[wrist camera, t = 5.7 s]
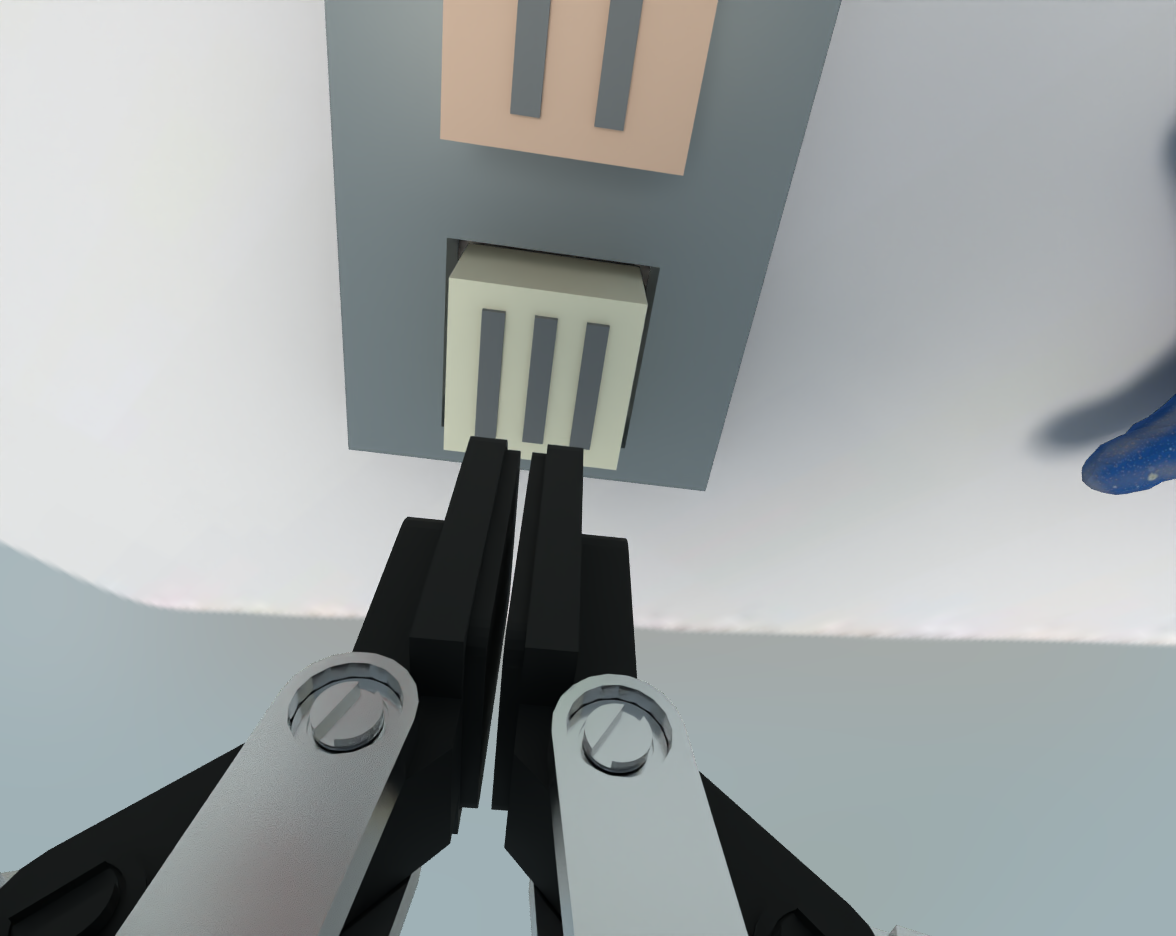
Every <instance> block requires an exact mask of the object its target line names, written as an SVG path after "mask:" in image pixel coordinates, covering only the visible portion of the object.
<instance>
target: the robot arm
mask: <svg viewBox="0 0 1176 936" xmlns="http://www.w3.org/2000/svg"><path fill="white" fill-rule="evenodd" d="M583 454H584V448H580V447H570V446H561V445H552V444H548V446H547V454H546V453H536V452H532V457H531V464H530V471H529V478H528V485H527V491H526V498H525V505H524V512H523V519H522V526H521V532H520V539H519V546H518V553H517V560H516V567H515V573H514V580H513V587H512V594H511V601H510V608H509V614H508V621H507V629H506V636H505V645H504V654H503V665H502V679H501V692H500V704H499V717H498V730H497V744H496V756H495V769H494V783H493V795H492V808H491V809H493V810H507V811H508V817H507V826H506V836H505V846H504V847H505V849H506V850H507V851H508V852H509V854H510V855H511V856H512V857H513V858H514V860H515V861H516V862H517V863H518V865H519V866H520V867H521V868H522V869H523V871H524V872H525V873H526V874H527V876H528V877H529V878H530V882H529V901H530V917H531V932H532V936H929V935H926V934H923V933H919V932H917V931H914V930H910V929H907V928H904V927H901V926H898V925H896V926H895V927H894V928H893V930H892V931H891V932H890V933H888V932H885V931H882V930H879V929H876V928H873V927H870V926H869V925H868V924H867V923H866V922H865V921H864V920H863V919H862V918H861V917H860V916H859V915H858V913H857V912H856V911H855V910H854V909H853V908H852V907H851V906H850V905H849V904H848V903H847V902H846V901H845V900H843V898H841V897H840V896H839V895H838V894H837V893H836V892H835V891H834V890H832V889H831V888H830V887H829V886H828V885H827V884H826V883H825V882H823V881H822V880H821V879H820V878H819V877H818V876H817V875H816V874H814V873H813V872H812V871H811V870H810V869H809V868H808V867H806V866H805V865H804V864H803V863H802V862H801V861H800V860H799V859H797V858H796V857H795V856H794V855H793V854H792V853H791V852H790V851H788V850H787V849H786V848H785V847H784V846H783V845H782V844H781V843H779V842H778V841H777V840H776V839H775V838H774V837H773V836H771V835H770V834H769V833H768V832H767V831H766V830H765V829H764V828H763V827H761V826H760V825H759V824H758V823H757V822H756V821H755V820H754V819H752V818H751V817H750V816H749V815H748V814H747V813H746V812H745V811H743V810H742V809H741V808H740V807H739V806H738V805H737V804H735V803H734V802H733V801H732V800H731V799H730V798H729V797H728V796H727V795H725V794H724V793H723V792H722V791H721V790H720V789H719V788H718V787H716V786H715V785H714V784H713V783H712V782H711V781H710V780H709V779H707V778H706V777H705V776H704V775H703V774H702V773H701V772H699V770H698V767H697V764H696V760H695V757H694V754H693V751H692V747H691V744H690V741H689V737H688V734H687V731H686V727H685V724H684V722H683V720H682V718H681V716H680V714H679V712H678V710H677V708H676V707H675V706H674V704H673V703H672V702H671V701H670V700H669V699H668V698H667V697H666V696H665V695H664V693H662V692H661V691H659V690H658V689H656V688H654V687H653V686H652V685H650V684H648V683H647V682H644V681H641V680H639V679H637V671H636V656H635V640H634V625H633V610H632V595H631V580H630V565H629V550H628V542H627V539H626V538H616V537H606V536H596V535H586V534H582V495H583ZM520 459H521V451H518V450H508V440H505V439H496V438H486V437H477V436H470V439H469V442H468V445H467V448H466V452H465V455H464V458H463V462H462V465H461V468H460V471H459V475H458V478H457V481H456V485H455V488H454V491H453V494H452V498H451V501H450V504H449V507H448V511H447V514H446V517H445V520H435V519H425V518H415V517H407V518H406V519H405V520H404V522H403V524H402V526H401V528H400V531H399V533H398V536H397V538H396V541H395V543H394V546H393V549H392V551H391V554H390V556H389V559H388V561H387V564H386V567H385V569H384V572H383V574H382V577H381V579H380V582H379V585H378V587H377V590H376V592H375V595H374V597H373V600H372V603H371V605H370V608H369V610H368V613H367V615H366V618H365V621H364V623H363V626H362V629H361V631H360V633H359V636H358V639H357V641H356V644H355V646H354V649H353V651H352V652H351V653H344V654H337V655H332V656H330V657H327V658H325V659H322V660H319V661H317V662H314V663H312V664H311V665H309V666H308V667H306V668H305V669H303V670H302V671H300V672H299V673H297V674H296V675H294V676H293V677H292V679H291V680H290V681H289V682H288V683H287V684H286V685H285V686H284V688H283V689H282V690H281V691H280V692H279V694H278V695H277V697H276V698H275V700H274V701H273V703H272V704H271V706H270V707H269V709H268V710H267V711H266V713H265V714H264V716H263V717H262V719H261V720H260V722H259V723H258V725H257V726H256V728H255V729H254V731H253V732H252V734H251V735H250V737H249V738H248V740H247V741H246V743H244V744H242V745H240V746H238V747H237V748H235V749H233V750H231V751H229V752H227V753H225V754H224V755H222V756H220V757H218V758H216V759H214V760H213V761H211V762H209V763H207V764H205V765H204V766H202V767H200V768H198V769H196V770H195V771H193V772H191V773H189V774H187V775H185V776H183V777H182V778H180V779H178V780H176V781H175V782H172V783H171V784H169V785H167V786H165V787H163V788H161V789H160V790H158V791H156V792H154V793H153V794H150V795H149V796H147V797H145V798H143V799H142V800H140V801H138V802H136V803H134V804H132V805H130V806H129V807H127V808H125V809H123V810H121V811H119V812H118V813H116V814H114V815H112V816H110V817H108V818H107V819H105V820H103V821H101V822H99V823H97V824H96V825H94V826H92V827H90V828H88V829H86V830H85V831H83V832H81V833H79V834H77V835H75V836H74V837H72V838H70V839H68V840H66V841H65V842H63V843H61V844H59V845H57V846H55V847H54V848H52V849H50V850H48V851H47V852H45V853H44V854H43V855H41V856H39V857H38V858H36V859H35V860H33V861H32V862H30V863H29V864H27V865H26V866H24V867H23V868H21V869H20V870H17V871H12V872H5V873H0V936H399V935H400V933H401V930H402V927H403V924H404V921H405V919H406V916H407V913H408V910H409V907H410V904H411V902H412V899H413V896H414V893H415V890H416V887H417V884H418V881H419V876H420V871H421V866H422V865H423V864H425V863H426V862H427V861H428V860H430V859H431V858H432V857H433V856H435V855H436V854H437V853H439V852H440V851H441V850H442V849H444V848H445V847H446V846H448V845H449V844H450V841H451V835H452V834H458V829H459V822H460V816H461V811H462V807H467V808H478V804H479V799H480V792H481V786H482V779H483V772H484V765H485V759H486V752H487V746H488V739H489V732H490V726H491V719H492V712H493V705H494V699H495V692H496V685H497V679H498V672H499V665H500V658H501V651H502V645H503V638H504V631H505V625H506V618H507V611H508V604H509V596H510V586H511V573H512V560H513V548H514V535H515V523H516V510H517V497H518V485H519V472H520Z"/></svg>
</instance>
